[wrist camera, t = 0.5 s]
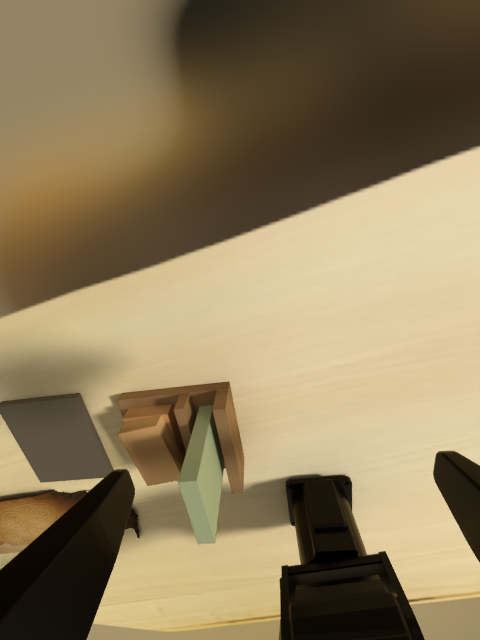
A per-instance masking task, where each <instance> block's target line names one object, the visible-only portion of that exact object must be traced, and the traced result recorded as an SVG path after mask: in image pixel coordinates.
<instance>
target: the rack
mask: <svg viewBox="0 0 480 640" xmlns="http://www.w3.org/2000/svg"><path fill="white" fill-rule="evenodd" d="M117 402H118V405H119V408H120V410H121V413H122V415H123V416H124V415H125V413H126V412H127V411H128V409H131V408H141V407H150V406H160V405H170V404H172V406H173V410H174V413H175V416H176V420H177V423H178V426H179V430H180V433H181V437H182V440H183V443H184V447H185V450H186V452H187V449H188V445H189V442H190V438H191V435H192V431H193V428H194V424H195V421H196V417H197V414H198V411H199V407H200V406H208V405H213V414H214V419H215V423H216V427H217V432H218V436H219V440H220V444H221V449H222V453H223V457H224V468H226V470H227V474H228V479H229V483H230V487H231V492H232V493H242V492H243V482H244V454H243V449H242V444H241V439H240V434H239V429H238V424H237V419H236V413H235V408H234V403H233V398H232V393H231V388H230V383H229V382H223V383H213V384H204V385H195V386H186V387H176V388H167V389H158V390H149V391H139V392H130V393H122V394H121V396H120V397H119V398H118V399H117Z"/></svg>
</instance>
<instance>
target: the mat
mask: <svg viewBox="0 0 480 640" xmlns="http://www.w3.org/2000/svg"><path fill="white" fill-rule="evenodd" d="M0 414H1V415H2V417H3V419H4V421H5V422H6V424H7V426H8V427H9V429H10V431H11V432H12V434H13V436H14V438H15V439H16V441H17V443H18V444H19V446H20V448H21V450H22V451H23V453H24V455H25V456H26V458H27V460H28V461H29V463H30V465H31V467H32V468H33V470H34V472H35V473H36V475H37V477H38V479H39V480H40V482H53V481H66V480H79V479H93V478H105V477H106V476H107V475H108V474H109V473H111V472H112V471H113V468H112V466H111V463H110V461H109V459H108V456H107V454H106V452H105V450H104V447H103V445H102V443H101V440H100V438H99V436H98V434H97V431H96V429H95V427H94V425H93V422H92V420H91V418H90V415H89V413H88V411H87V409H86V406H85V404H84V402H83V400H82V397H81V395H80V393H78V394H68V395H59V396H50V397H41V398H32V399H23V400H14V401H5V402H1V403H0Z"/></svg>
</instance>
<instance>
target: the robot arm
mask: <svg viewBox="0 0 480 640" xmlns="http://www.w3.org/2000/svg"><path fill="white" fill-rule="evenodd" d="M433 475H434V480H435V482H436V484H437V486H438V488H439V490H440V492H441V494H442V496H443V497H444V499H445V501H446V503H447V505H448V507H449V509H450V510H451V512H452V514H453V516H454V518H455V520H456V522H457V524H458V525H459V527H460V529H461V531H462V533H463V535H464V537H465V538H466V540H467V542H468V544H469V546H470V547H471V549H472V551H473V552H474V554H475V556H476V557H477V559H478V560H479V562H480V466H479V465H478V464H476V463H474V462H473V461H471V460H469V459H468V458H466V457H464V456H462V455H461V454H459V453H457V452H455V451H439V452H438V453H437V454H436V458H435V464H434V471H433ZM286 491H287V499H288V507H289V515H290V522H291V525H292V526H295V528H296V535H297V542H298V549H299V555H300V562H301V565H295V566H288V565H285V566H282V578H280V596H281V620H280V632H279V640H424V637H423V634H422V632H421V629H420V627H419V625H418V622H417V620H416V618H415V615H414V613H413V611H412V608H411V606H410V604H409V602H408V600H407V598H406V595H405V593H404V591H403V589H402V587H401V584H400V582H399V580H398V578H397V576H396V574H395V571H394V569H393V567H392V565H391V563H390V560H389V558H388V556H387V554H386V552H385V551H383V552H379V554H372V555H367V553H366V550H365V547H364V545H363V542H362V539H361V536H360V533H359V530H358V528H357V525H356V522H355V519H354V516H353V513H352V482H351V479H350V478H349V477H347V476H341V477H327V478H313V479H298V480H288V481H287V482H286ZM134 495H135V488H134V485H133V482H132V479H131V476H130V474H129V471H128V470H127V469H118V470H113V471H112V472H111V473H109V474H108V475H107V476H106V477H105V478H104V479H103V480H101V481H100V482H99V483H98V484H97V485H96V486H95V487H94V488H92V489H91V490H90V491H89V492H88V493H87V494H86V495H85V496H83V497H82V498H81V499H80V500H79V501H78V502H77V503H75V504H74V505H73V506H72V507H71V508H70V509H69V510H68V511H66V512H65V513H64V514H63V515H62V516H61V517H60V518H59V519H57V520H56V521H55V522H54V523H53V524H52V525H51V526H49V527H48V528H47V529H46V530H45V531H44V532H43V533H42V534H40V535H39V536H38V537H37V538H36V539H35V540H34V541H33V542H31V543H30V544H29V545H28V546H27V547H26V548H25V549H23V550H22V551H21V552H20V553H19V554H18V555H17V556H16V557H14V558H13V559H12V560H11V561H10V562H9V563H8V564H7V565H5V566H4V567H3V568H2V569H1V570H0V640H86V639H87V637H88V634H89V631H90V629H91V626H92V623H93V621H94V618H95V615H96V613H97V610H98V607H99V605H100V602H101V599H102V596H103V594H104V591H105V588H106V586H107V583H108V580H109V578H110V575H111V572H112V570H113V567H114V564H115V561H116V558H117V555H118V552H119V549H120V545H121V542H122V538H123V535H124V531H125V528H126V524H127V521H128V517H129V513H130V510H131V506H132V503H133V499H134Z"/></svg>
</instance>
